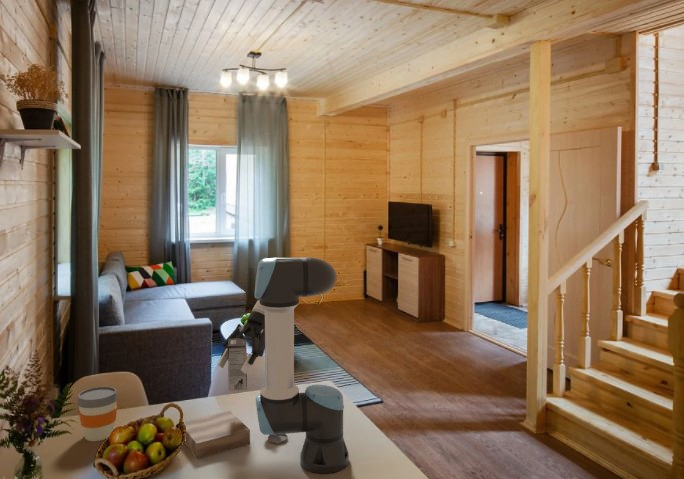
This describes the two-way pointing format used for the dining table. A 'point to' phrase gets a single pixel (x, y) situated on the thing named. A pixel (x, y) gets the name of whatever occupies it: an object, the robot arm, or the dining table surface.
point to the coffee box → (237, 364)
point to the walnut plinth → (215, 434)
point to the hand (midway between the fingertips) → (231, 369)
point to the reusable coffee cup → (97, 412)
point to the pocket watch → (277, 438)
